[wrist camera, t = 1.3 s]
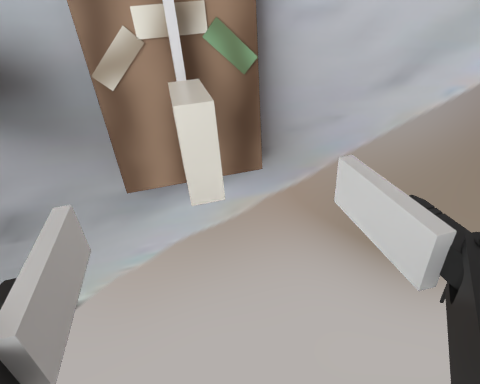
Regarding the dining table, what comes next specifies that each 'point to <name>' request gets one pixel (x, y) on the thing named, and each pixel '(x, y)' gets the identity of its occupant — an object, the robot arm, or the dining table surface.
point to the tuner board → (162, 71)
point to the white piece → (194, 124)
